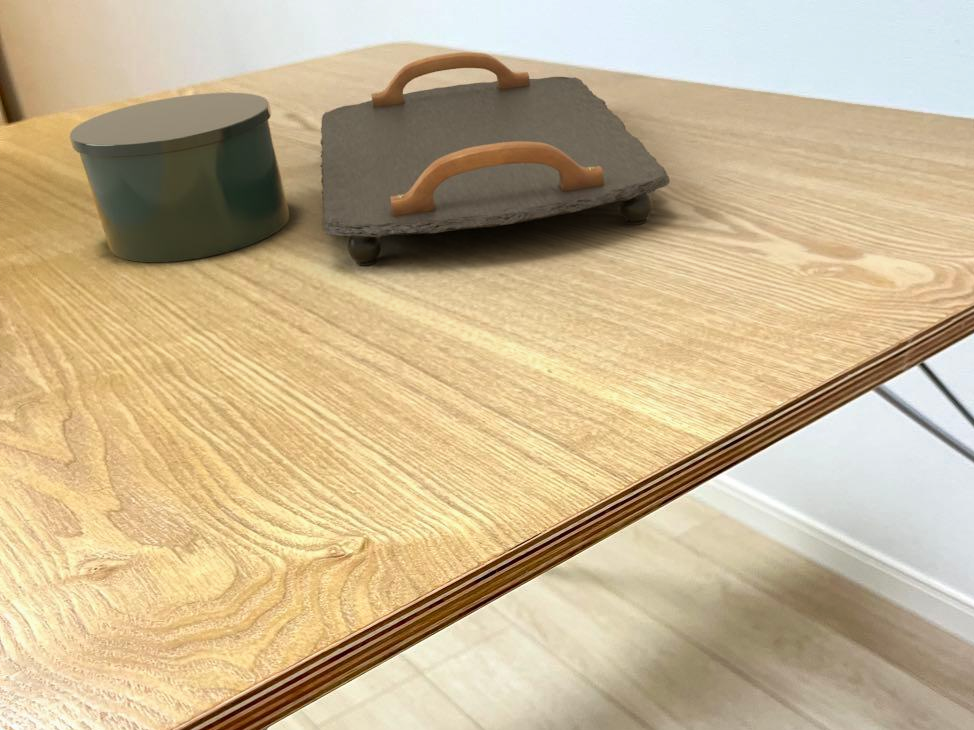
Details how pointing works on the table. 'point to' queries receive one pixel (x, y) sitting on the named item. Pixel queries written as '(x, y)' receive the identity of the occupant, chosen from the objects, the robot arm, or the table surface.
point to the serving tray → (476, 156)
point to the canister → (184, 176)
